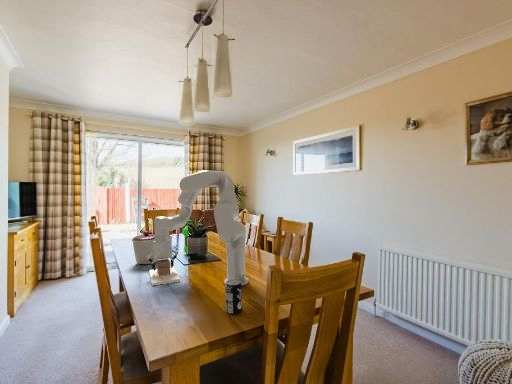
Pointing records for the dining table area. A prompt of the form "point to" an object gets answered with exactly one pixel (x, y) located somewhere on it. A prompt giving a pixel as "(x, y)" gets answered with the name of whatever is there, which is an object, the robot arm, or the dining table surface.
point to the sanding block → (163, 267)
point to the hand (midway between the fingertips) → (163, 268)
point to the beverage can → (233, 296)
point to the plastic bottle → (186, 234)
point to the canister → (143, 247)
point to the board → (164, 277)
